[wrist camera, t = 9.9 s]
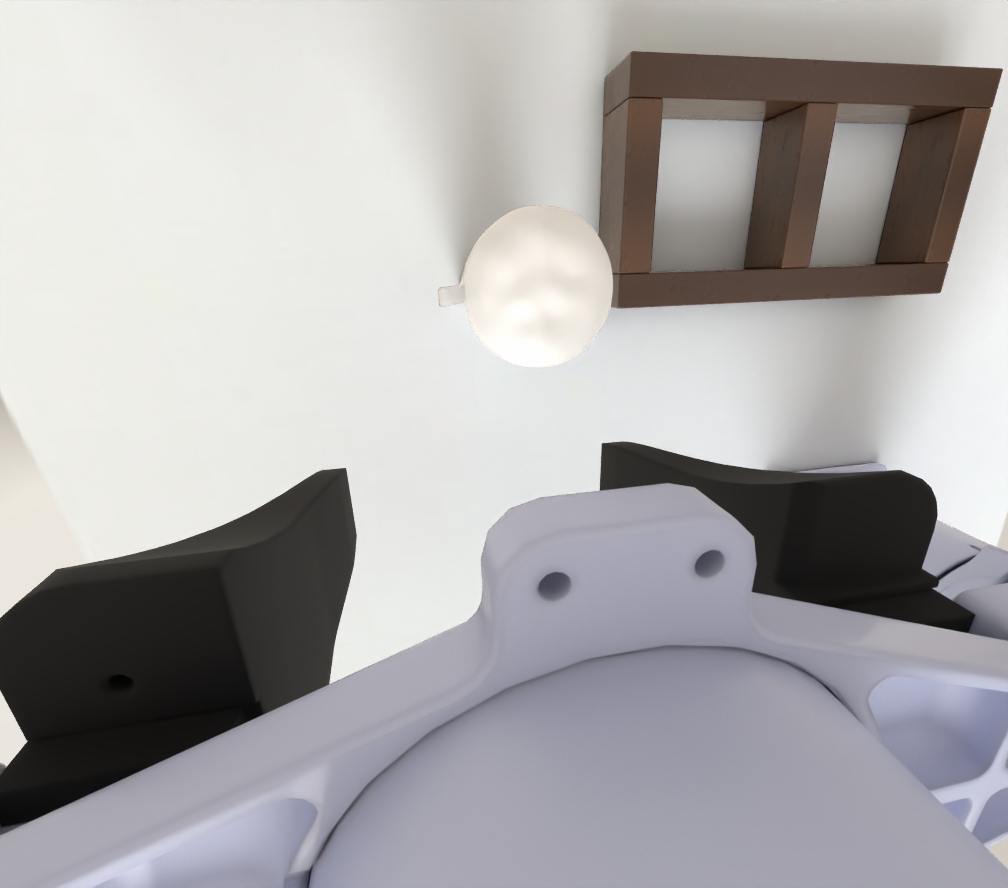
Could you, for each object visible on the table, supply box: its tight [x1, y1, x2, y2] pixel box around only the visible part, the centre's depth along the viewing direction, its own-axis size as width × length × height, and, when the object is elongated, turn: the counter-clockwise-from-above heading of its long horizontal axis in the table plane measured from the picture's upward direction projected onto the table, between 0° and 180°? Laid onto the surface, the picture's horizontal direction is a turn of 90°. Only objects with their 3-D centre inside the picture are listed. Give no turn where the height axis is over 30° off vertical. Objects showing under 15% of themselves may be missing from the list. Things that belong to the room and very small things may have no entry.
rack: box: [599, 51, 1003, 308], centre depth 21 cm, size 9×17×3 cm, turn 92°
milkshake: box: [438, 206, 613, 367], centre depth 17 cm, size 4×5×10 cm
